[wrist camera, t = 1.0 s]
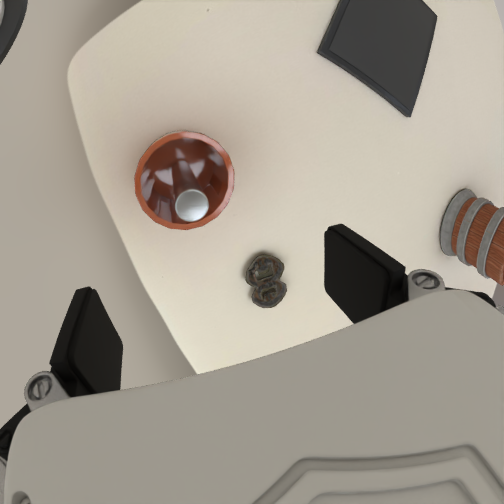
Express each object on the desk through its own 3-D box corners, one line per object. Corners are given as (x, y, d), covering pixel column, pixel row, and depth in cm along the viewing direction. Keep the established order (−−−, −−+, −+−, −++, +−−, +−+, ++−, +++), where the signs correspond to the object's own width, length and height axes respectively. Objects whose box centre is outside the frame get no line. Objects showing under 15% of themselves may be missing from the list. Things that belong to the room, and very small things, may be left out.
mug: (442, 193, 39) (511, 226, 27) (487, 181, 43) (541, 205, 30) (433, 263, 46) (489, 303, 33) (479, 238, 50) (526, 267, 37)
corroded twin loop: (252, 309, 37) (254, 314, 36) (238, 258, 33) (241, 262, 33) (287, 296, 38) (290, 301, 37) (278, 245, 34) (281, 249, 33)
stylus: (169, 173, 27) (170, 217, 14) (174, 157, 26) (181, 185, 14) (186, 178, 27) (202, 225, 15) (191, 162, 27) (213, 195, 15)
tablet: (316, 52, 25) (320, 51, 24) (361, -47, 18) (364, -49, 18) (406, 117, 32) (411, 117, 31) (434, 16, 25) (438, 16, 24)
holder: (134, 193, 27) (123, 216, 20) (157, 121, 24) (153, 118, 18) (202, 211, 30) (214, 240, 23) (227, 143, 27) (249, 150, 21)
